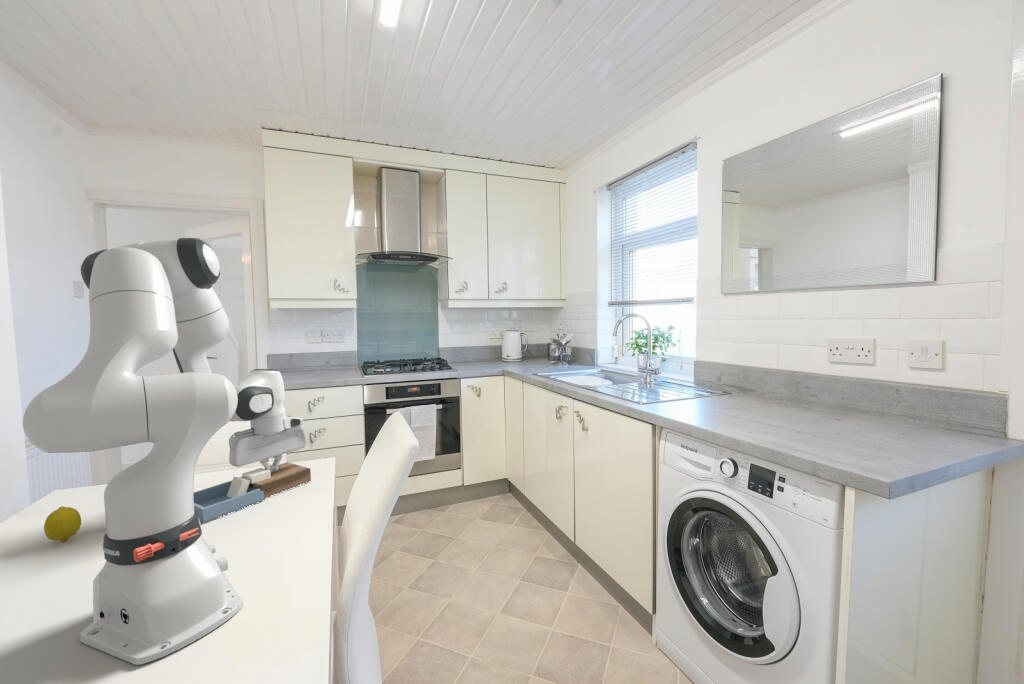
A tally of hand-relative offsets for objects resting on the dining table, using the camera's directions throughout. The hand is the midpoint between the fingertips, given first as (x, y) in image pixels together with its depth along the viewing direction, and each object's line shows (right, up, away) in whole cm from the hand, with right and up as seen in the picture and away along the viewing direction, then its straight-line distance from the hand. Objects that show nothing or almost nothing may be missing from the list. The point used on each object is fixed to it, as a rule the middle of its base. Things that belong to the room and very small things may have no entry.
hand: (271, 472), depth 117 cm
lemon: (-30, -7, -27) cm, 41 cm away
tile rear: (-2, -1, -3) cm, 4 cm away
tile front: (-4, -2, -6) cm, 8 cm away
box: (-7, -6, -11) cm, 14 cm away
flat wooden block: (0, -5, +1) cm, 5 cm away
